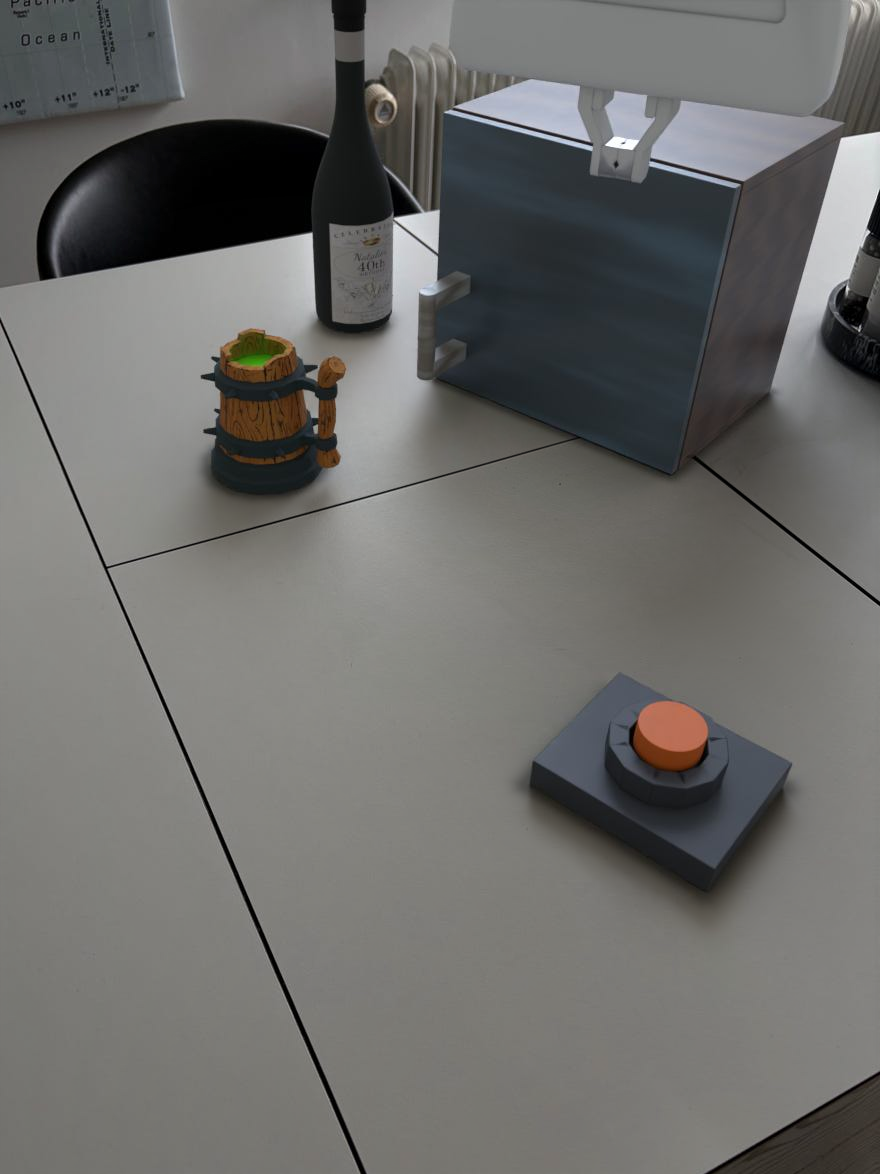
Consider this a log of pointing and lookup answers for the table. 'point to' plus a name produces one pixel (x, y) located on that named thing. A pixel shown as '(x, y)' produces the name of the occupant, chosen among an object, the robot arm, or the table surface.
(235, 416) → the mug
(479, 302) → the door
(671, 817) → the button block
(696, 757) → the button
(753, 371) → the cupboard
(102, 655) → the table surface
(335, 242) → the wine bottle
